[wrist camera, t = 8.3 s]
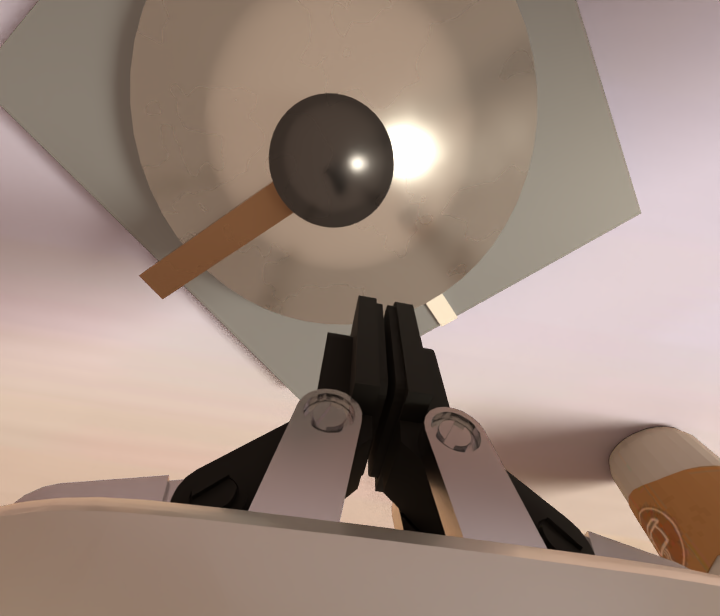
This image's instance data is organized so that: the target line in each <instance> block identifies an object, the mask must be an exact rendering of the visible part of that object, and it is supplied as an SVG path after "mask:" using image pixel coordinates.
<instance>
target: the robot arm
mask: <svg viewBox="0 0 720 616" xmlns="http://www.w3.org/2000/svg"><path fill="white" fill-rule="evenodd" d="M367 460H368V475H369V476H370V477H375V491H379V492H384V493H385V494H386V496H387V497H388V498H389V499H390V500H391V501H392V502H393V504H392V518H393V523H394V528H395V529H391V528H383V527H375V526H367V525H359V524H351V523H343V522H340V517H341V513H342V508H343V504H344V499H345V498H346V497H348V496H349V495H350V494H351V493H353V492H354V491H355V490H356V489H358V485H359V482H360V478H361V475H363V474H364V470H365V467H366V464H367ZM0 616H720V576H719V575H714V574H709V573H704V572H699V571H694V570H691V569H689V568H687V567H685V566H683V565H681V564H679V563H676V562H673V561H671V560H668V559H665V558H662V557H659V556H657V555H654V554H651V553H648V552H645V551H643V550H640V549H637V548H634V547H631V546H629V545H626V544H623V543H620V542H617V541H615V540H612V539H609V538H606V537H603V536H601V535H598V534H595V533H592V532H589V531H587V532H586V534H585V535H583V534H582V533H581V531H580V530H579V529H578V528H577V527H576V526H575V525H574V524H573V523H572V522H571V521H570V520H568V519H567V518H566V517H565V516H563V515H562V514H561V513H560V512H558V511H557V510H556V509H555V508H553V507H552V506H551V505H550V504H548V503H547V502H546V501H544V500H543V499H542V498H541V497H539V496H538V495H537V494H536V493H534V492H533V491H532V490H531V489H529V488H528V487H527V486H526V485H524V484H523V483H522V482H520V481H519V480H518V479H517V478H515V477H514V476H513V475H512V474H510V473H509V472H508V471H507V470H505V468H504V466H503V464H502V462H501V460H500V459H499V457H498V455H497V453H496V451H495V449H494V447H493V445H492V444H491V442H490V440H489V438H488V436H487V434H486V432H485V431H484V429H483V428H482V426H481V425H480V424H479V423H478V422H477V421H476V420H475V419H474V418H473V417H471V416H470V415H468V414H466V413H465V412H463V411H460V410H458V409H455V408H450V407H449V403H448V400H447V396H446V392H445V389H444V385H443V381H442V378H441V374H440V370H439V367H438V363H437V359H436V356H435V353H434V350H432V349H427V348H423V346H422V342H421V338H420V333H419V329H418V324H417V320H416V316H415V311H414V307H413V305H411V304H406V303H400V302H394V304H393V306H391V305H387V307H386V310H385V314H384V316H383V304H379V303H377V299H376V298H371V297H366V296H360V295H359V296H358V300H357V305H356V310H355V315H354V320H353V324H352V329H351V334H350V336H349V335H343V334H337V333H331V332H328V333H327V339H326V344H325V350H324V355H323V361H322V366H321V372H320V377H319V382H318V388H317V390H314V391H311V392H309V393H307V394H306V395H305V396H303V397H302V398H301V400H300V401H299V402H298V404H297V406H296V408H295V411H294V413H293V415H292V417H291V419H290V421H289V422H288V423H286V424H284V425H282V426H280V427H278V428H276V429H274V430H272V431H270V432H268V433H267V434H265V435H263V436H261V437H259V438H257V439H255V440H253V441H251V442H249V443H247V444H245V445H243V446H242V447H240V448H238V449H236V450H234V451H232V452H230V453H228V454H226V455H224V456H222V457H220V458H218V459H217V460H215V461H213V462H211V463H209V464H207V465H205V466H203V467H201V468H199V469H197V470H196V471H194V472H193V473H191V474H190V475H188V476H187V477H186V478H185V479H184V480H172V481H169V475H165V476H152V477H138V478H125V479H112V480H99V481H86V482H73V483H60V484H55V485H50V486H45V487H42V488H39V489H37V490H35V491H33V492H31V493H29V494H26V495H24V496H23V497H22V498H20V499H19V500H18V501H16V502H15V503H13V504H9V505H4V506H0Z"/></svg>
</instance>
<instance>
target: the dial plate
mask: <svg viewBox="0 0 720 616" xmlns="http://www.w3.org/2000/svg"><path fill="white" fill-rule="evenodd" d="M145 2H146V0H39V1H38V2H37V3H36V5H35V6H34V7H33V8H32V9H31V11H30V12H29V13H28V14H27V16H26V17H25V18H24V19H23V20H22V22H21V23H20V24H19V25H18V27H17V28H16V29H15V30H14V32H13V33H12V34H11V35H10V36H9V38H8V39H7V40H6V41H5V43H4V44H3V45H2V46H1V47H0V106H1V107H2V108H3V109H4V110H5V111H6V112H7V113H9V114H10V115H11V116H12V117H13V118H14V119H15V120H16V121H17V122H18V123H19V124H20V125H21V126H22V127H23V128H24V129H25V130H26V131H27V132H28V133H29V134H30V135H31V136H32V137H33V138H34V139H35V140H36V141H37V142H38V143H39V144H40V145H41V146H42V147H43V148H44V149H45V150H46V151H47V152H48V153H49V154H50V155H51V156H52V157H53V158H54V159H55V160H56V161H57V162H58V163H59V164H60V165H61V166H62V167H63V168H64V169H65V170H67V171H68V172H69V173H70V174H71V175H72V176H73V177H74V178H75V179H76V180H77V181H78V182H79V183H80V184H81V185H82V186H83V187H84V188H85V189H86V190H87V191H88V192H89V193H90V194H91V195H92V196H93V197H94V198H95V199H96V200H97V201H98V202H99V203H100V204H101V205H102V206H103V207H104V208H105V209H106V210H107V211H108V212H109V213H110V214H111V215H112V216H113V217H114V218H115V219H116V220H117V221H118V222H119V223H120V224H121V225H122V226H123V227H125V228H126V229H127V230H128V231H129V232H130V233H131V234H132V235H133V236H134V237H135V238H136V239H137V240H138V241H139V242H140V243H141V244H142V245H143V246H144V247H145V248H146V249H147V250H148V251H149V252H150V253H151V254H152V255H153V256H154V257H155V258H156V259H157V260H158V261H160V260H161V259H162V258H164V257H165V256H167V255H168V254H169V253H171V252H172V251H173V250H175V249H176V248H178V247H179V246H180V245H182V244H183V243H182V242H181V241H180V240H179V238H178V237H177V236H176V235H175V233H174V231H173V230H172V228H171V227H170V225H169V223H168V222H167V220H166V219H165V217H164V216H163V214H162V212H161V210H160V208H159V206H158V204H157V202H156V200H155V198H154V196H153V194H152V192H151V190H150V187H149V185H148V182H147V179H146V176H145V173H144V171H143V168H142V165H141V162H140V158H139V154H138V150H137V145H136V141H135V137H134V132H133V123H132V115H131V106H130V71H131V63H132V55H133V47H134V40H135V36H136V32H137V29H138V25H139V21H140V18H141V14H142V10H143V7H144V5H145ZM516 3H517V5H518V8H519V10H520V13H521V15H522V18H523V21H524V23H525V26H526V29H527V33H528V37H529V42H530V46H531V50H532V54H533V58H534V66H535V75H536V83H537V125H536V133H535V141H534V149H533V153H532V157H531V162H530V166H529V170H528V174H527V177H526V180H525V183H524V186H523V188H522V191H521V194H520V196H519V199H518V202H517V204H516V206H515V208H514V210H513V212H512V214H511V216H510V218H509V220H508V222H507V224H506V225H505V227H504V228H503V230H502V232H501V233H500V235H499V236H498V238H497V239H496V241H495V242H494V244H493V245H492V247H491V248H490V249H489V250H488V251H487V253H486V254H485V255H484V256H483V257H482V259H481V260H480V261H479V262H478V263H477V264H476V265H475V266H474V267H473V268H472V269H471V270H470V271H469V272H468V273H467V274H466V275H465V276H464V277H463V278H462V279H461V280H459V281H458V282H457V283H456V284H454V285H453V286H452V287H450V288H449V289H448V290H446V291H445V292H444V293H442V294H441V295H439V296H437V297H436V298H434V299H432V300H431V301H429V302H427V303H426V304H423V305H421V306H419V307H417V308H415V309H414V311H415V316H416V320H417V324H418V329H419V333H420V336H422V335H424V334H425V333H427V332H429V331H431V330H432V329H434V328H436V327H438V326H440V325H441V327H442V326H444V325H446V324H447V323H449V322H451V321H453V320H455V319H456V318H457V316H458V315H459V314H461V313H463V312H465V311H467V310H468V309H470V308H472V307H474V306H476V305H477V304H479V303H481V302H483V301H485V300H486V299H488V298H490V297H492V296H494V295H495V294H497V293H499V292H501V291H503V290H504V289H506V288H508V287H510V286H511V285H513V284H515V283H517V282H519V281H520V280H522V279H524V278H526V277H528V276H529V275H531V274H533V273H535V272H537V271H538V270H540V269H542V268H544V267H546V266H547V265H549V264H551V263H553V262H555V261H556V260H558V259H560V258H562V257H564V256H565V255H567V254H569V253H571V252H573V251H574V250H576V249H578V248H580V247H581V246H583V245H585V244H587V243H589V242H590V241H592V240H594V239H596V238H598V237H599V236H601V235H603V234H605V233H607V232H608V231H610V230H612V229H614V228H616V227H617V226H619V225H621V224H623V223H625V222H626V221H628V220H630V219H632V218H634V217H635V216H637V215H639V214H641V211H640V208H639V204H638V201H637V198H636V194H635V191H634V188H633V185H632V181H631V178H630V175H629V172H628V168H627V165H626V162H625V158H624V155H623V152H622V149H621V145H620V142H619V139H618V136H617V132H616V129H615V126H614V122H613V119H612V116H611V113H610V109H609V106H608V103H607V100H606V96H605V93H604V90H603V86H602V83H601V80H600V77H599V73H598V70H597V67H596V64H595V60H594V57H593V54H592V50H591V47H590V44H589V41H588V37H587V34H586V31H585V28H584V24H583V21H582V18H581V15H580V11H579V8H578V5H577V1H576V0H516ZM184 286H185V287H186V288H187V289H188V290H189V291H190V292H191V293H192V294H193V295H194V296H195V297H196V298H197V299H198V300H199V301H200V302H201V303H202V304H203V305H204V306H205V307H206V308H207V309H208V310H209V311H210V312H211V313H212V314H213V315H214V316H215V317H216V318H217V319H218V320H219V321H220V322H221V323H222V324H223V325H224V326H225V327H226V328H227V329H228V330H229V331H230V332H231V333H232V334H233V335H234V336H235V337H236V338H237V339H238V340H240V341H241V342H242V343H243V344H244V345H245V346H246V347H247V348H248V349H249V350H250V351H251V352H252V353H253V354H254V355H255V356H256V357H257V358H258V359H259V360H260V361H261V362H262V363H263V364H264V365H265V366H266V367H267V368H268V369H269V370H270V371H271V372H272V373H273V374H274V375H275V376H276V377H277V378H278V379H279V380H280V381H281V382H282V383H283V384H284V385H285V386H286V387H287V388H288V389H289V390H290V391H291V392H292V393H293V394H294V395H295V396H296V397H298V398H299V399H300V400H301V398H302V397H303V396H305V395H306V394H307V393H309V392H311V391H314V390H317V388H318V382H319V377H320V372H321V366H322V361H323V355H324V350H325V344H326V339H327V333H328V332H331V333H337V334H343V335H349V336H350V334H351V329H352V324H349V325H337V324H320V323H313V322H306V321H302V320H298V319H294V318H290V317H286V316H283V315H280V314H278V313H275V312H272V311H269V310H267V309H264V308H262V307H260V306H258V305H256V304H254V303H252V302H250V301H248V300H246V299H245V298H243V297H242V296H240V295H239V294H237V293H235V292H234V291H232V290H231V289H229V288H228V287H226V286H225V285H224V284H223V283H221V282H220V281H219V280H218V279H216V278H215V277H214V276H213V275H212V274H210V273H209V272H208V271H207V270H206V271H205V272H203V273H202V274H200V275H199V276H197V277H196V278H194V279H193V280H191V281H190V282H188V283H187V284H185V285H184Z"/></svg>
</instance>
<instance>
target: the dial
mask: <svg viewBox="0 0 720 616" xmlns="http://www.w3.org/2000/svg"><path fill="white" fill-rule="evenodd" d="M130 106H131V115H132V123H133V132H134V137H135V141H136V145H137V150H138V154H139V158H140V162H141V165H142V168H143V171H144V173H145V176H146V179H147V182H148V185H149V187H150V190H151V192H152V194H153V196H154V198H155V200H156V202H157V204H158V206H159V208H160V210H161V212H162V214H163V216H164V217H165V219H166V220H167V222H168V223H169V225H170V227H171V228H172V230H173V231H174V233H175V235H176V236H177V237H178V238H179V240H180V241H181V242H182V243H183V244H182V245H180V246H179V247H178V248H176V249H175V250H173V251H172V252H171V253H169V254H168V255H167V256H165V257H164V258H162V259H161V260H160V261H158V262H157V263H156V264H154V265H153V266H151V267H150V268H149V269H147V270H146V271H145V272H143V273H142V274H141V275H139V276H140V277H141V278H142V279H143V280H144V281H145V282H146V283H147V284H148V285H149V286H150V287H151V288H152V289H153V290H154V291H155V292H156V293H157V294H158V295H159V296H160V297H161V298H162V299H164V298H165V297H167V296H168V295H170V294H171V293H173V292H174V291H176V290H177V289H179V288H180V287H182V286H184V285H185V284H187V283H188V282H190V281H191V280H193V279H194V278H196V277H197V276H199V275H200V274H202V273H203V272H205V271H206V270H207V271H208V272H209V273H210V274H212V275H213V276H214V277H215V278H216V279H218V280H219V281H220V282H221V283H223V284H224V285H225V286H226V287H228V288H229V289H231V290H232V291H234V292H235V293H237V294H239V295H240V296H242V297H243V298H245V299H246V300H248V301H250V302H252V303H254V304H256V305H258V306H260V307H262V308H264V309H267V310H269V311H272V312H275V313H278V314H280V315H283V316H286V317H290V318H294V319H298V320H302V321H306V322H313V323H320V324H337V325H349V324H353V320H354V315H355V310H356V305H357V300H358V296H359V295H360V296H366V297H371V298H376V299H377V303H379V304H383V316H384V314H385V310H386V307H387V305H391V306H393V304H394V302H400V303H406V304H411V305H413V307H414V309H415V308H417V307H419V306H421V305H423V304H426V303H427V302H429V301H431V300H432V299H434V298H436V297H437V296H439V295H441V294H442V293H444V292H445V291H446V290H448V289H449V288H450V287H452V286H453V285H454V284H456V283H457V282H458V281H459V280H461V279H462V278H463V277H464V276H465V275H466V274H467V273H468V272H469V271H470V270H471V269H472V268H473V267H474V266H475V265H476V264H477V263H478V262H479V261H480V260H481V259H482V257H483V256H484V255H485V254H486V253H487V251H488V250H489V249H490V248H491V247H492V245H493V244H494V242H495V241H496V239H497V238H498V236H499V235H500V233H501V232H502V230H503V228H504V227H505V225H506V224H507V222H508V220H509V218H510V216H511V214H512V212H513V210H514V208H515V206H516V204H517V202H518V199H519V196H520V194H521V191H522V188H523V186H524V183H525V180H526V177H527V174H528V170H529V166H530V162H531V157H532V153H533V149H534V141H535V133H536V125H537V83H536V75H535V66H534V58H533V54H532V50H531V46H530V42H529V37H528V33H527V29H526V26H525V23H524V21H523V18H522V15H521V13H520V10H519V8H518V5H517V3H516V0H146V2H145V5H144V7H143V10H142V14H141V18H140V21H139V25H138V29H137V32H136V36H135V40H134V47H133V55H132V63H131V71H130Z"/></svg>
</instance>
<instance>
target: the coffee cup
mask: <svg viewBox="0 0 720 616" xmlns="http://www.w3.org/2000/svg"><path fill="white" fill-rule="evenodd" d="M609 466H610V468H611V475H612V477H613V479H614V481H615V483H616V484H617V486H618V487H619V489H620V491H621V492H622V494H623V495H624V497H625V499H626V500H627V502H628V503H629V506H630V508H631V510H632V512H633V513H634V515H635V517H636V518H637V520H638V522H639V523H640V525H641V526H642V528H643V530H644V531H645V533H646V534H647V536H648V538H649V539H650V541H651V543H652V544H653V546H654V547H655V549H656V551H657V552H658V554H659V555H660V557H662V558H665V559H668V560H671V561H673V562H676V563H679V564H681V565H683V566H685V567H687V568H689V569H691V570H694V571H699V572H704V573H709V574H714V575H719V576H720V458H719V457H718V456H717V455H715V454H714V453H713V452H712V451H711V450H709V449H708V448H707V447H706V446H705V445H703V444H702V443H701V442H700V441H699V440H697V439H696V438H695V437H694V436H693V435H691V434H688V433H686V432H682V431H680V430H678V429H676V428H672V427H654V428H649V429H645V430H642V431H640V432H637V433H635V434H632V435H631V436H629V437H627V438H626V439H624V440H623V441H622V442H621V443H619V444H618V445H617V446H616V447H615V449H614V450H613V451H612V453H611V456H610V458H609Z"/></svg>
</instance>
